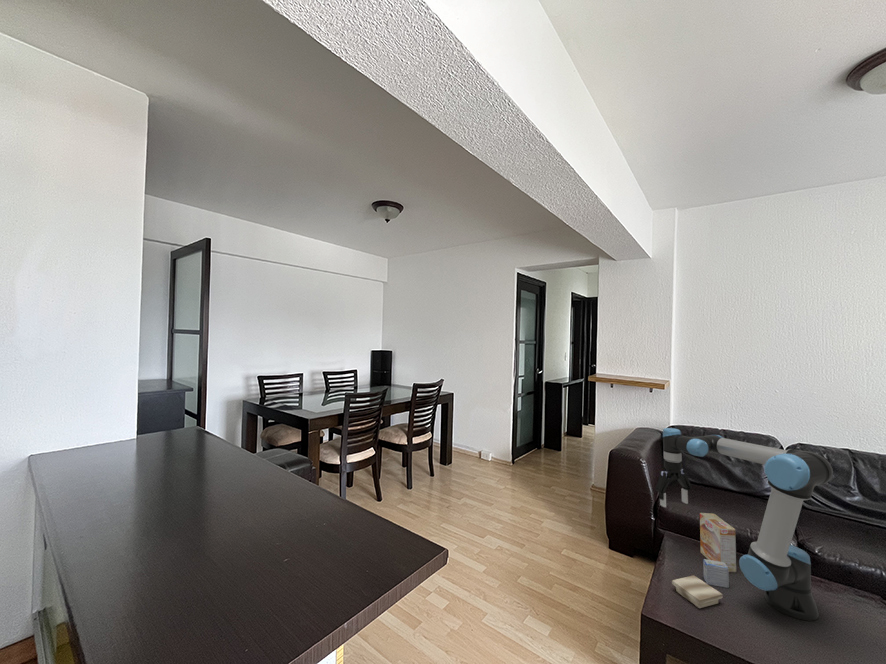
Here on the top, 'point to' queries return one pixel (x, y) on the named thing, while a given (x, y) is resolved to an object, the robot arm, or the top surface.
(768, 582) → the robot arm
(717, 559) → the coffeecake box
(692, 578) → the stand
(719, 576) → the medicine box
